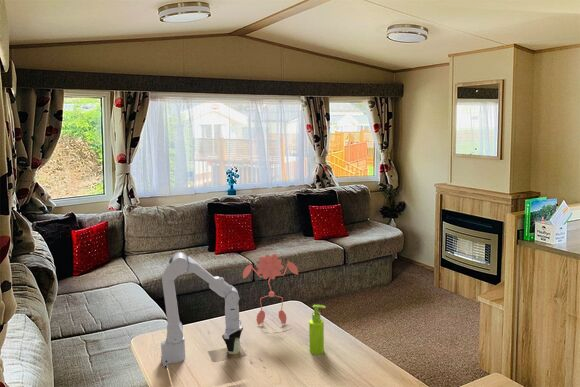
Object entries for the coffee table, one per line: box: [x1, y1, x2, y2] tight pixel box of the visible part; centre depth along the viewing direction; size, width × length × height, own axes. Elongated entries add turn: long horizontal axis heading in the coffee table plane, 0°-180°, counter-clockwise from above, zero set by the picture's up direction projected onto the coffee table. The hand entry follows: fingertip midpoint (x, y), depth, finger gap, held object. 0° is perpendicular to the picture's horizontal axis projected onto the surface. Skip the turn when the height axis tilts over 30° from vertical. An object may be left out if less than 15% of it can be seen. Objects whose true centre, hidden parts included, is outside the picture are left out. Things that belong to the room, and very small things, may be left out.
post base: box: [207, 344, 247, 363], centre depth 201 cm, size 14×10×4 cm
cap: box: [227, 337, 241, 354], centre depth 203 cm, size 5×5×5 cm
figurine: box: [242, 253, 299, 334], centre depth 226 cm, size 15×26×35 cm, turn 90°
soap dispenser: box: [308, 304, 327, 355], centre depth 202 cm, size 6×7×20 cm
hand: (233, 347), depth 203 cm, fingers closed on cap, 5 cm apart
